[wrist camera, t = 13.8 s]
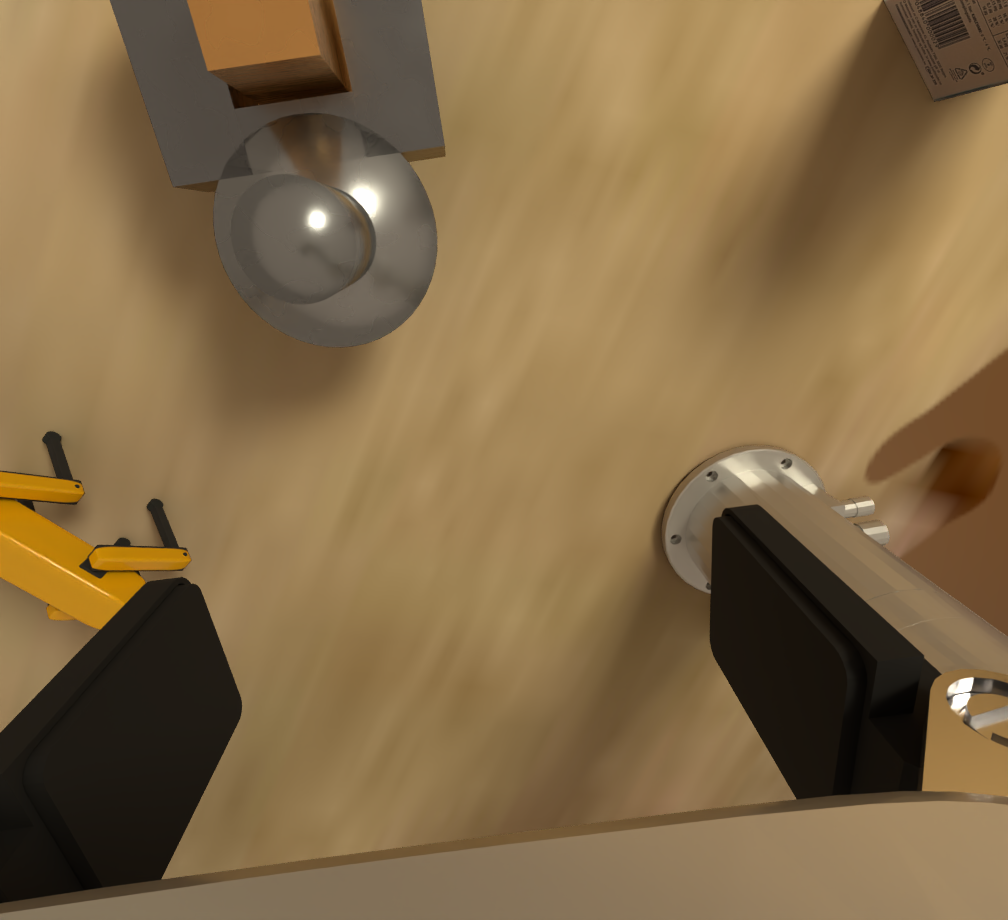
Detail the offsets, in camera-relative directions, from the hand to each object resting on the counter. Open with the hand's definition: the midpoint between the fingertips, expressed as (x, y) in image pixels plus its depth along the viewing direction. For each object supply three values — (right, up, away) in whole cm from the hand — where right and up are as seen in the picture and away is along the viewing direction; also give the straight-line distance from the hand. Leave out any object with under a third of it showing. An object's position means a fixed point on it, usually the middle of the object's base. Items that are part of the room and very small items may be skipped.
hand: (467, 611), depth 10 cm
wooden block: (-9, +23, +20) cm, 32 cm away
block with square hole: (-9, +20, +21) cm, 30 cm away
